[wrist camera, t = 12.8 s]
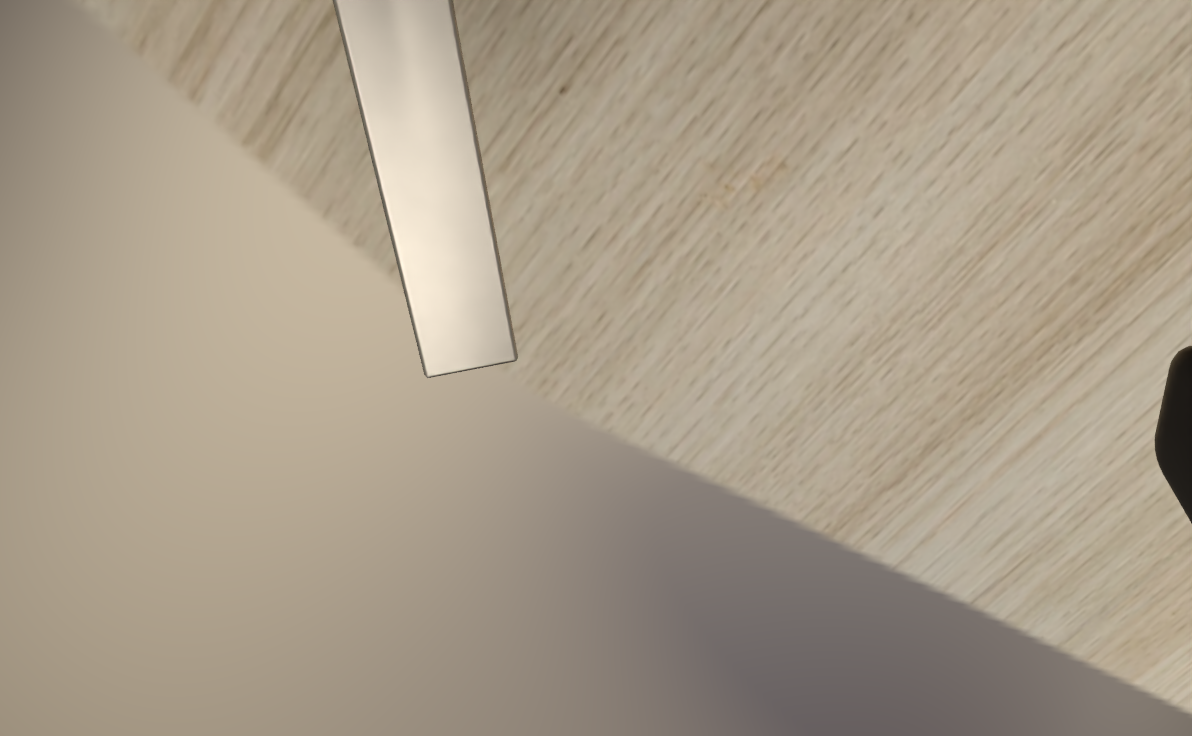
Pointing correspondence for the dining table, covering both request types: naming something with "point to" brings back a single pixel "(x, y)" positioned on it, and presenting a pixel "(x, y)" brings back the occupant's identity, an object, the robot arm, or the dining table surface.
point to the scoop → (430, 178)
